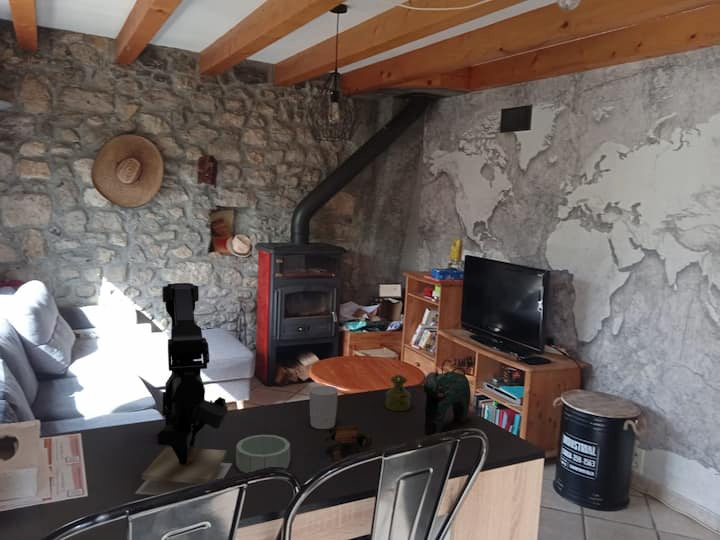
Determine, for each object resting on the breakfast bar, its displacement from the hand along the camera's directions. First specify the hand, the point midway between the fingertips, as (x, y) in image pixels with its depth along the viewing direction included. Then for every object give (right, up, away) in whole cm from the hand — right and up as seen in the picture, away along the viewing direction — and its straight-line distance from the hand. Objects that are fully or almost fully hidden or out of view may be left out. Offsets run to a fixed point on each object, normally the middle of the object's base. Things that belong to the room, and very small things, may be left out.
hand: (186, 460), depth 129 cm
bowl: (+15, -4, +9) cm, 18 cm away
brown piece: (+35, -4, +17) cm, 39 cm away
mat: (0, -5, +1) cm, 5 cm away
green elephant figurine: (+61, -3, +37) cm, 72 cm away
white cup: (+27, -2, +35) cm, 45 cm away
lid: (0, -2, 0) cm, 2 cm away
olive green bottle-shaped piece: (+49, -1, +51) cm, 71 cm away
